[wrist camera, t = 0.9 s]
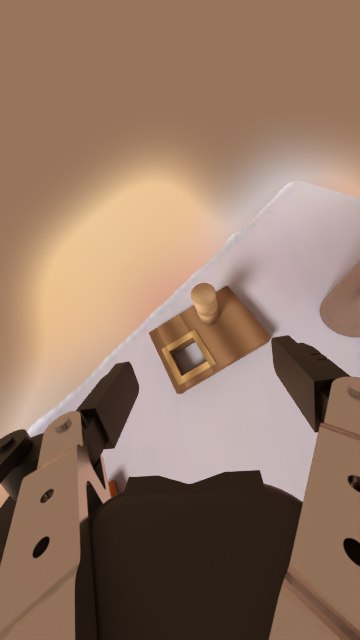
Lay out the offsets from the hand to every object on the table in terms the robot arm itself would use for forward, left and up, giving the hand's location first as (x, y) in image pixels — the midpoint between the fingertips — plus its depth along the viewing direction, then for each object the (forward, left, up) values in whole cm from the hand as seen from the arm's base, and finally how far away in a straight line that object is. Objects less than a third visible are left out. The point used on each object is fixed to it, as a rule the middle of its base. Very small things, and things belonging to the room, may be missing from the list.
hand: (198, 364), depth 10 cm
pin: (-5, -13, -24) cm, 28 cm away
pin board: (-2, -10, -27) cm, 29 cm away
